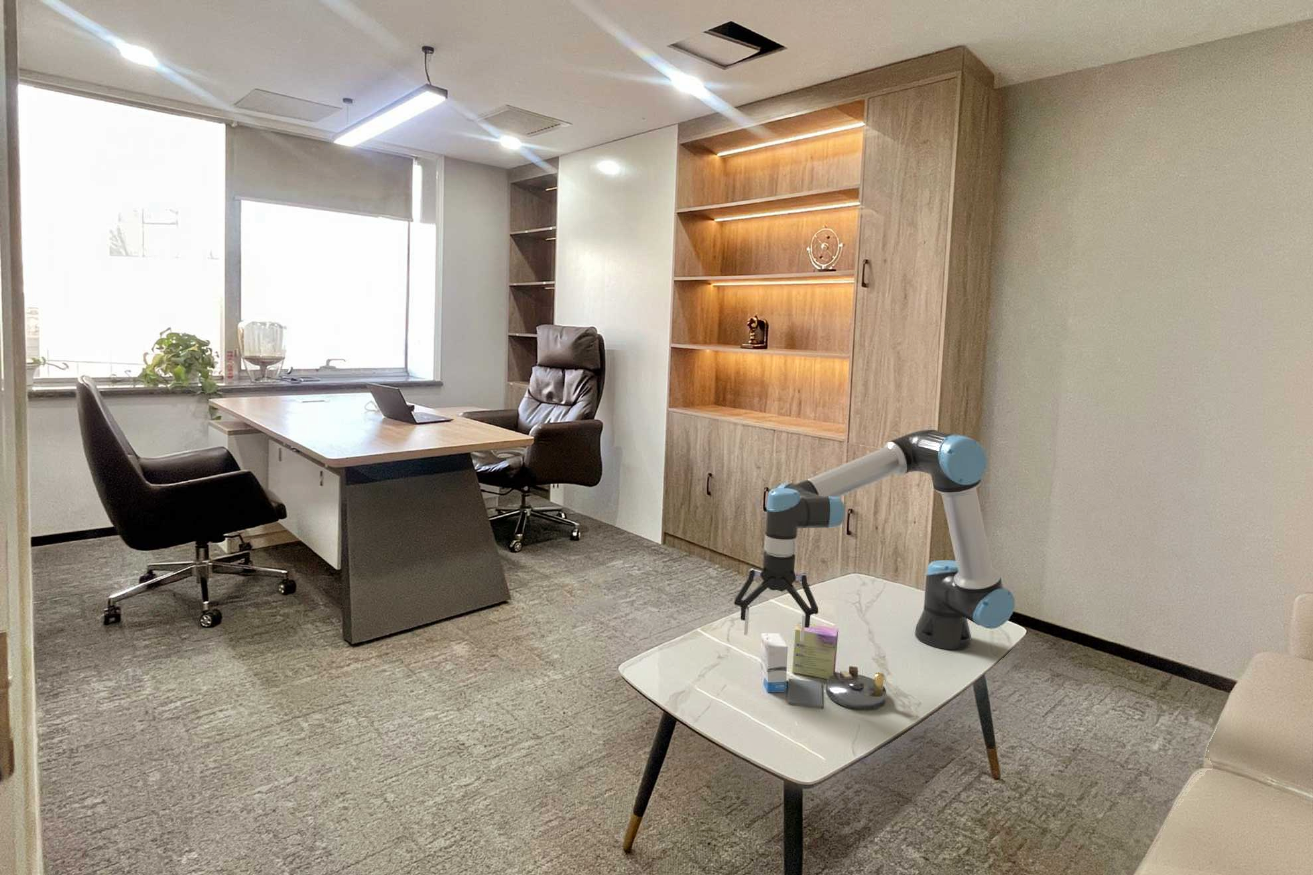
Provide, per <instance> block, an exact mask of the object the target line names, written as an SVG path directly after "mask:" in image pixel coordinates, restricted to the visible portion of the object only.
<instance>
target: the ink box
mask: <svg viewBox="0 0 1313 875" xmlns="http://www.w3.org/2000/svg"><path fill="white" fill-rule="evenodd" d="M788 650H789V649H788V645H787V644H786V642H785V640H784V639H783V637H782V635H781V634H780V633H779V632H777V633H773V632H772V633H767V632H766V633H765V632H763V633H761V634H760V665H759V666H760V667H759V668H760V669H759V670H760V671H759V672H760V673H759V677H760V680H761V683H763V686H764V688H765V690H766V692H767V693H780V692H781V693H783V692H787V673H788V670H787V669H788V667H787V666H788Z"/></svg>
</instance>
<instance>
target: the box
mask: <svg viewBox="0 0 1313 875" xmlns="http://www.w3.org/2000/svg"><path fill="white" fill-rule="evenodd" d="M801 622H802V621H801ZM801 622H800V621H799V622H798V623H797V625H796V627H795V632H794V641H793V656H792V671H791V672H792V673H794V674H798V675H804V676H805V675H806V676H811V677H816V678H821V679H825V680H828V678H830V677H831V676H833V675H835V672H836V665H837V664H836V662H837V651H838V638H839V628H836V627H829V626H822V625H819V624H818V625H817V624H812V623H810V626H809V628H805V629H804V642H801V641H800V635H801Z"/></svg>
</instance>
